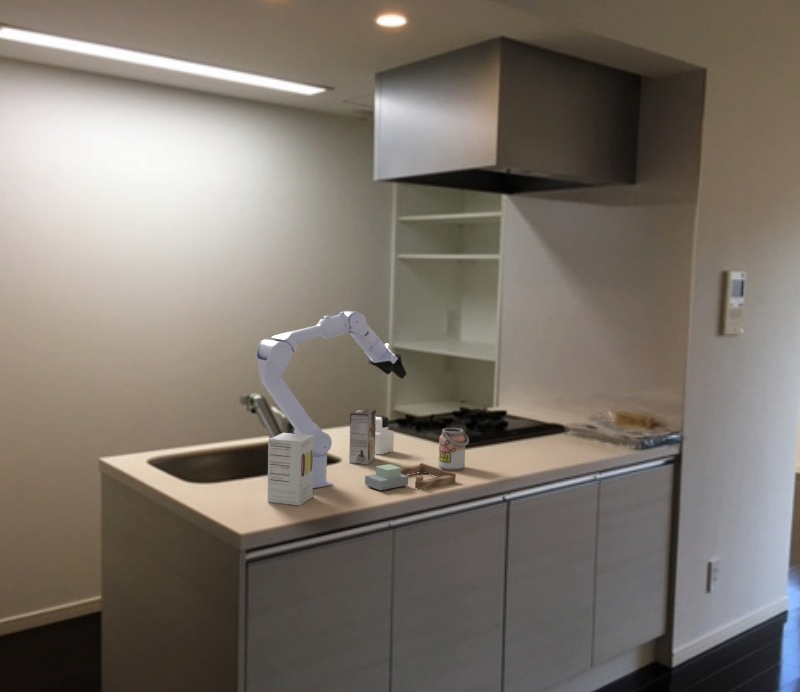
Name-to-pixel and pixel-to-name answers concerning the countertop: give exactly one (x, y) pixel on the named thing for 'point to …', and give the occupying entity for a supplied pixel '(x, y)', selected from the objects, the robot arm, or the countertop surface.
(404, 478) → the stacked grey base
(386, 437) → the medicine bottle
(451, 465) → the soda can pail
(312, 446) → the supplement box
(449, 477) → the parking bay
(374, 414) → the coffee box
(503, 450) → the countertop surface
